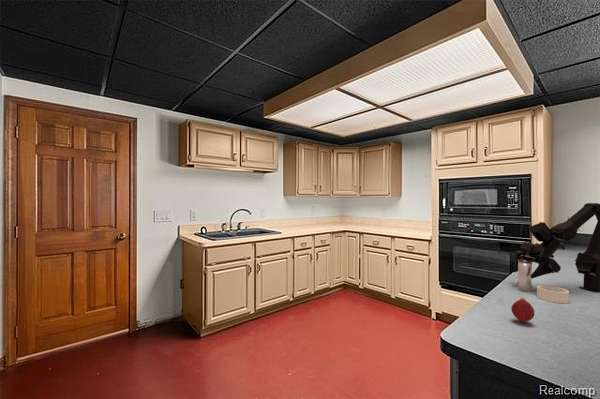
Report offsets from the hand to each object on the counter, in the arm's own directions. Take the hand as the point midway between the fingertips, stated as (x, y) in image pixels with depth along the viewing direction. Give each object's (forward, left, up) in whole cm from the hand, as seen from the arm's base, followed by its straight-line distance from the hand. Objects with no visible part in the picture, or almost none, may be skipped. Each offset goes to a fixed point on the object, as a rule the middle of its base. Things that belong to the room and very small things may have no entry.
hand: (521, 274), depth 125 cm
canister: (-1, 0, -7) cm, 7 cm away
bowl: (-1, +11, -7) cm, 13 cm away
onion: (+34, +24, -7) cm, 42 cm away
